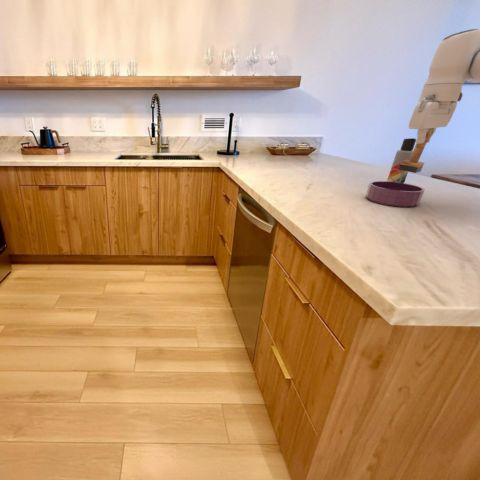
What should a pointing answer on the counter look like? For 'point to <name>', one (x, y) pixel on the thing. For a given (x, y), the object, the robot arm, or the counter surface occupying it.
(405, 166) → the dish brush
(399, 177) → the lotion bottle
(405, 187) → the plum bowl
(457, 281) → the counter surface
